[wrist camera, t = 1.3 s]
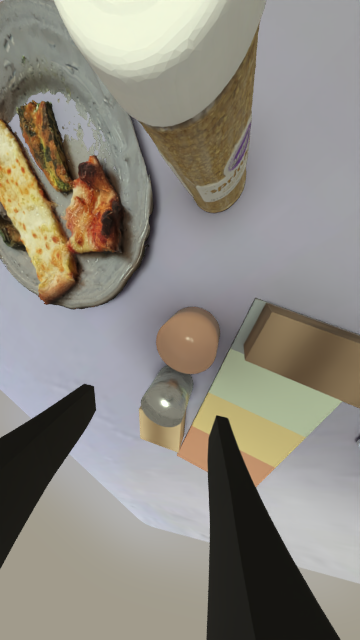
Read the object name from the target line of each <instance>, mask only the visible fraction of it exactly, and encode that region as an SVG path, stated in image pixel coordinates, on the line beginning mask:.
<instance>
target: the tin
mask: <svg viewBox="0 0 360 640" xmlns="http://www.w3.org/2000/svg"><path fill="white" fill-rule="evenodd" d="M192 389H193V379H192V377H191V375H190V374H186V373H181V372H178V371H176V370H174V369H172V368H171V367H169V366H168V365H167V366H165V367H163V368H162V369H161V370H160V372H159V373H158V375H157V376H156V378H155V379H154V381H153V382H152V384H151V385H150V387H149V388H148V390H147V391H146V393H145V394H144V396H143V398H142V400H141V407H142V410H143V412H144V413H145V415H146V416H147V417H148V418H149V419H150V420H151V421H152V422H154V423H156V424H158V425H160V426H163V427H175V426H177V425H179V424H180V423H181V422H182V419H183V416H184V413H185V410H186V407H187V404H188V401H189V398H190V395H191V392H192Z"/></svg>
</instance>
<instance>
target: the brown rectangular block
mask: <svg viewBox="0 0 360 640" xmlns="http://www.w3.org/2000/svg"><path fill="white" fill-rule="evenodd" d="M244 358H245V361H248V362H250V363H252V364H255V365H257V366H259V367H262V368H264V369H267V370H269V371H271V372H274V373H276V374H279V375H281V376H283V377H286V378H288V379H291V380H293V381H295V382H298V383H300V384H303V385H305V386H307V387H310V388H312V389H314V390H317V391H319V392H322V393H324V394H326V395H329V396H331V397H334V398H336V399H338V400H341V401H343V402H346V403H348V404H350V405H353V406H355V407H357V408H360V336H359V335H356V334H353V333H350V332H348V331H345V330H342V329H339V328H336V327H333V326H331V325H328V324H325V323H322V322H319V321H317V320H314V319H311V318H308V317H305V316H303V315H300V314H297V313H294V312H291V311H289V310H286V309H283V308H280V307H277V306H274V305H272V304H269V303H266V304H265V306H264V308H263V310H262V311H261V313H260V315H259V317H258V319H257V321H256V323H255V324H254V326H253V328H252V330H251V332H250V334H249V336H248V337H247V339H246V341H245V343H244Z"/></svg>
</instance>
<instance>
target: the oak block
mask: <svg viewBox="0 0 360 640" xmlns="http://www.w3.org/2000/svg"><path fill="white" fill-rule="evenodd" d="M139 416H140V438H141V439H143V440H146V441H149V442H151V443H154V444H157V445H160V446H162V447H165V448H168V449H170V450H173V451H176V452H178V453H179V450H180V446H181V443H182V439H183V436H184V428H185V417H186V410H185V413H184V416H183V419H182V422H181V423H180V424H179V425H177V426H175V427H163V426H160V425H158V424H156V423H154V422H152V421H151V420H150V419H149V418H148V417H147V416H146V415H145V413H144V412H143V410H142V407H140V408H139Z"/></svg>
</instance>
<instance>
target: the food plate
mask: <svg viewBox="0 0 360 640" xmlns="http://www.w3.org/2000/svg"><path fill="white" fill-rule="evenodd" d="M49 90H50V93H51V94H52V95H53V94H54V95H55V94H56V93H57V92H61V93H62V94H64V96H65V97H67V101H66V102H67V103H69V101H70V100H71V99H73V100H74V101H75V102H76V109H77V111H78V112H80V114H78V115H80V116H82V117H83V118H84V119H85V120H87V114H86V112H88V113H89V114H90V117H91V118H89V123H88V124H87V125H88V127H90V125H89V124H90V121H92V123H93V124H94V126H95V127H96V128H97V130H94V129H92V131H94V133H93V135H94V136H93V137H94V139H96V143H95V144H96V145H95V149H96V150H97V151H98V152H99V153H98V156H95V155H94V151H95V150H94V146H93V145H92V147H90V148H89V151H88V152H87V148H86V146H85V144H84V142H83V140H82V139H83V130H82V129H81V127H80V123H78V130H76V129H74V130H75V131H77V134H76V135H77V137H78V139H79V140H78V141H77V140H75V139H73V138H72V136H71V141H70V140H69V136H68V135H66V134H65V137H64V142H63V143H62V141H63V140H62V137H61V136H62V135H60V134H61V133H60V132H59V130H58V126H57V123H56V120H55V117H54V113H53V111H52V103H51V102H50V103H49V102H48V101H47V102H44V101H42V102H41V103H40V104H38V103H36V102H35V101H34V100H32V102H29V104H28V105H27V104H26V102H27V101H28V98H29V97H30V96H32V95H36V94H38V93H40V92H42V93H43V94H45V93H46V92H47V91H49ZM58 102H59V99H58ZM24 103H25V104H26V106H25V105H24ZM23 105H24V106H23ZM16 113H18V115H19V118H20V128H21V131H22V135H23V138H24V139H25V143H27V144H28V146H29V148H30V152H31V154H32V156H33V157H34V160H35V162H36V163H37V165H38V166H39V168H40V169H41V170H42V171H43V173H42V177H41V171H40V170H39V169H38V168H37V166H36V165H35V163H34V162H33V160H32V159H31V156H29V153H28V150H27V149H26V147H25V148H24V146H23V144H22V142H21V141H20V139H19V138H18V136H17V135H16V134H17V133H16V132H15V133H13V131H12V130H11V127H10V126H8V123H9V122H11V120H12V118H13V117H14V116H15V114H16ZM74 117H75V116H74ZM64 125H65V124H64ZM69 125H70V121H69ZM74 125H75V124H74ZM62 128H63V129H64V127H62ZM67 129H68V128H67ZM99 130H101V131H102V132H103V134H104V137H105V139H106V142H103V141H102V135H101V134H100V132H99ZM80 134H81V135H82V136H81V135H80ZM97 134H98V135H99V136H100V140H99V138H98V136H97ZM97 140H99V142H100V144H101V146H100V149H99V150H98V147H97V146H99V142H98V141H97ZM108 143H109V146H108ZM93 144H94V143H93ZM105 148H107V150H106V149H105ZM120 150H121V152H120ZM108 151H109V152H110V155H109V152H108ZM102 152H104V153H102ZM90 155H91V156H90ZM100 157H101V160H100V159H99V158H100ZM104 158H106V163H105V162H104ZM68 160H69V161H70V162H69V161H68ZM114 166H115V168H116V170H115V169H113V167H114ZM149 179H150V174H149V177H148V175H147V169H146V166H145V162H144V159H143V157H142V153H141V150H140V147H139V143H138V139H137V136H136V133H135V130H134V126H133V122H132V120H131V117H130V115H129V114H128V113H127V112H126V111H125V110H124V109H123V108H122V107H121V106H120V104H119V103H118V102H117V101H116V99H115V98H114V97H113V96H112V94H111V93H110V92H109V90H108V89H107V88H106V86H105V85H104V84H103V82H102V81H101V80H100V78H99V77H98V76H97V74H96V73H95V71H94V70H93V69H92V67H91V66H90V64H89V63H88V61H87V60H86V59H85V57H84V56H83V54H82V53H81V51H80V50H79V49H78V47H77V46H76V44H75V43H74V41H73V39H72V38H71V36H70V34H69V32H68V30H67V28H66V26H65V24H64V22H63V20H62V18H61V16H60V14H59V11H58V9H57V7H56V5H55V2H54V0H4V1H1V2H0V259H3V261H2V262H3V263H4V265H5V264H6V266H7V267H8V268H7V267H6V268H7V269H8V271H9V272H10V273H11V274H12V275H13V276H14V277H15V278H16V279H17V280H18V282H19V283H21V284H22V285H23V286H24V287H26V288H27V289H28V290H29V291H31V292H33V293H35V294H37V295H38V297H40V300H43V301H44V302H45V303H44V304H46V305H48V304H53V305H60V306H64V307H66V308H69V309H76V308H77V309H85V308H88V307H95V306H99V305H102V304H105V303H108V301H110V300H112V299H114V298H115V297H116V296H117V295H118V294H119V293H120V292H121V291H122V290H123V288H124V287H125V284H126V283H127V281H128V280H129V279H130V277H131V276H132V275H133V273H134V272H135V271H136V270H137V269H138V268H139V267H140V265H141V262H142V259H143V257H144V256H145V255H144V254H145V247H146V246H148V247H149V245H148V244H147V245H145V246H144V241H146V240H147V238H148V237H149V234H150V225H149V222H148V220H149V215H150V214H152V212H153V199H152V190H151V183H150V182H151V180H150V181H149ZM61 205H62V206H61Z"/></svg>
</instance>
